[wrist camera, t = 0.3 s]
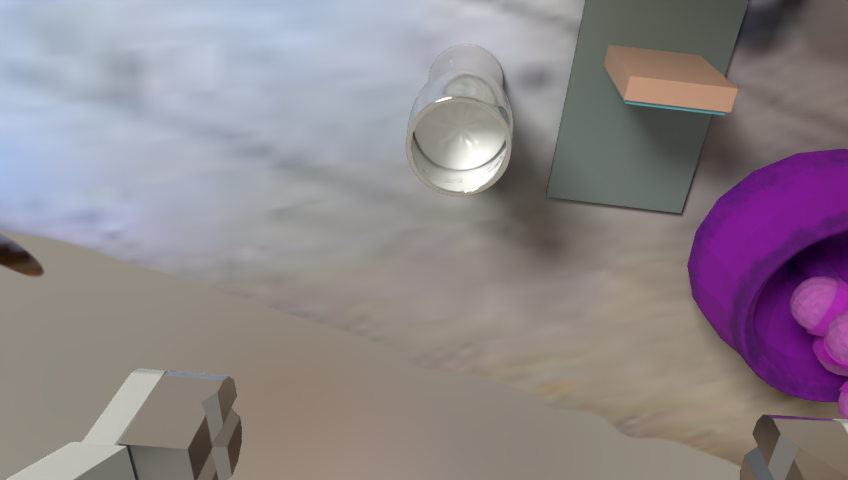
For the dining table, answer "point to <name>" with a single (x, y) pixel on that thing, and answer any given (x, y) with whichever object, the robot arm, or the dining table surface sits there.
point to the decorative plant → (782, 274)
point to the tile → (669, 80)
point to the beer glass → (461, 123)
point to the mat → (634, 124)
